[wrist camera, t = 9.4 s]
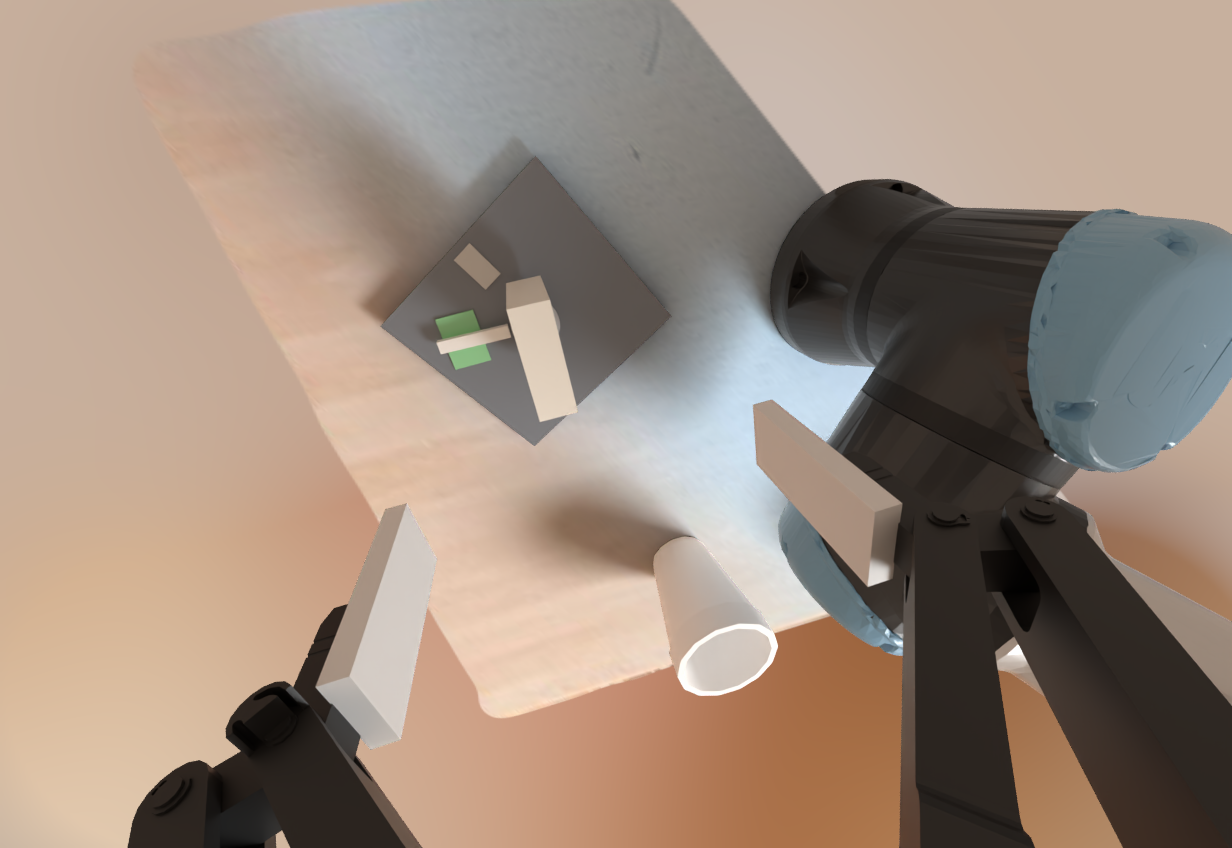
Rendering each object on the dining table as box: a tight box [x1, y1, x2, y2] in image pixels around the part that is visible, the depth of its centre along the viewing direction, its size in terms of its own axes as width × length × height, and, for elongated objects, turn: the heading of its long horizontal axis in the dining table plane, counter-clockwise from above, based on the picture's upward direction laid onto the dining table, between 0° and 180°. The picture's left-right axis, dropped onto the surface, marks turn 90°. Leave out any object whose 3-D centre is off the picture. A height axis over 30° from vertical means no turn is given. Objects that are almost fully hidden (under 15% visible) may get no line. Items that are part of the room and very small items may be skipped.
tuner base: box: [381, 156, 671, 446], centre depth 36 cm, size 16×15×2 cm
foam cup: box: [653, 536, 778, 696], centre depth 46 cm, size 10×9×13 cm
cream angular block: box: [437, 276, 578, 422], centre depth 30 cm, size 7×9×10 cm
